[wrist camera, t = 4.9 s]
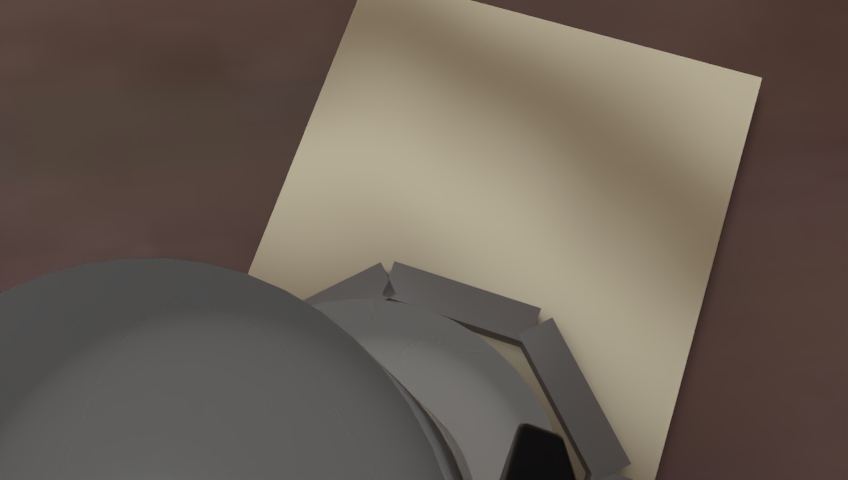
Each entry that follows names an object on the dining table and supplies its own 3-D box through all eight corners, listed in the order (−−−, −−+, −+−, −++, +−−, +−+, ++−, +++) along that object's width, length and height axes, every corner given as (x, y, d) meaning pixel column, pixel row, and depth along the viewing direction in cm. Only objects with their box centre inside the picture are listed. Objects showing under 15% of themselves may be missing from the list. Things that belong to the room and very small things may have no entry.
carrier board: (505, 999, 16) (510, 1121, 13) (56, 795, 17) (-30, 863, 14) (748, 96, 20) (792, 36, 17) (373, -6, 22) (356, -77, 19)
